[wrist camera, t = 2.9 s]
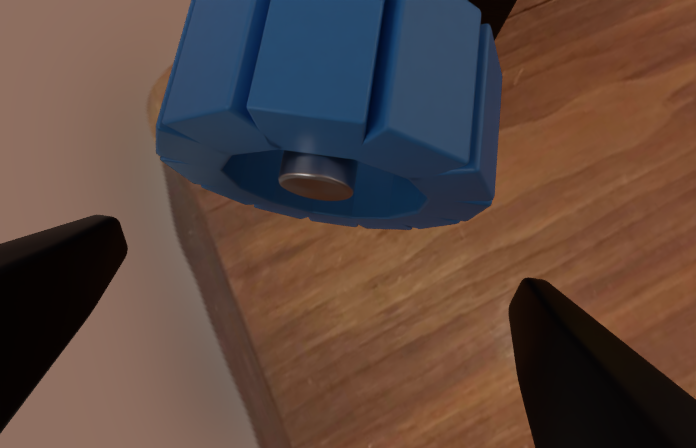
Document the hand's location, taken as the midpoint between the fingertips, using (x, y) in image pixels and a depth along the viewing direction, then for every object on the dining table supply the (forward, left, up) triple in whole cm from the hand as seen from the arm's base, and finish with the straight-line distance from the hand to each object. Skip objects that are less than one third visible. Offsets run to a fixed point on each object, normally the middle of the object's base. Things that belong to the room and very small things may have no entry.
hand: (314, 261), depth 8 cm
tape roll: (+2, +2, -3) cm, 5 cm away
